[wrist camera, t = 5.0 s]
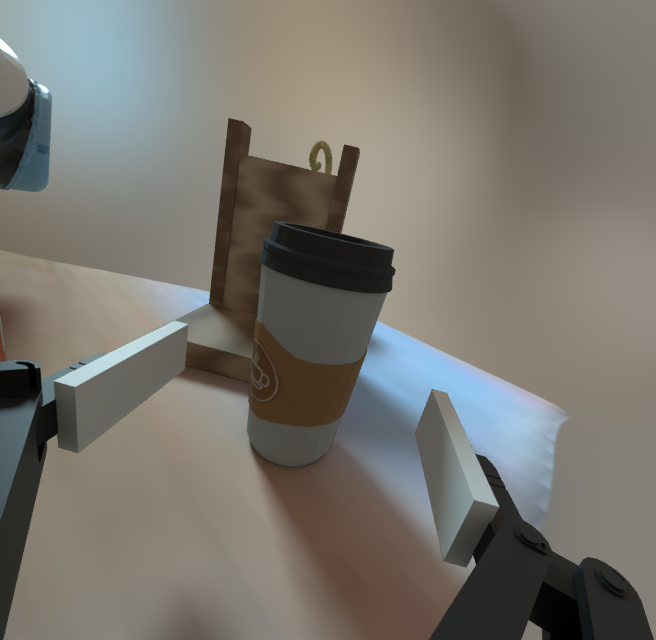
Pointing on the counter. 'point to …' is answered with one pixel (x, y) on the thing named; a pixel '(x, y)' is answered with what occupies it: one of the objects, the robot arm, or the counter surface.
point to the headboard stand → (256, 244)
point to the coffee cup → (311, 336)
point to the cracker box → (2, 345)
